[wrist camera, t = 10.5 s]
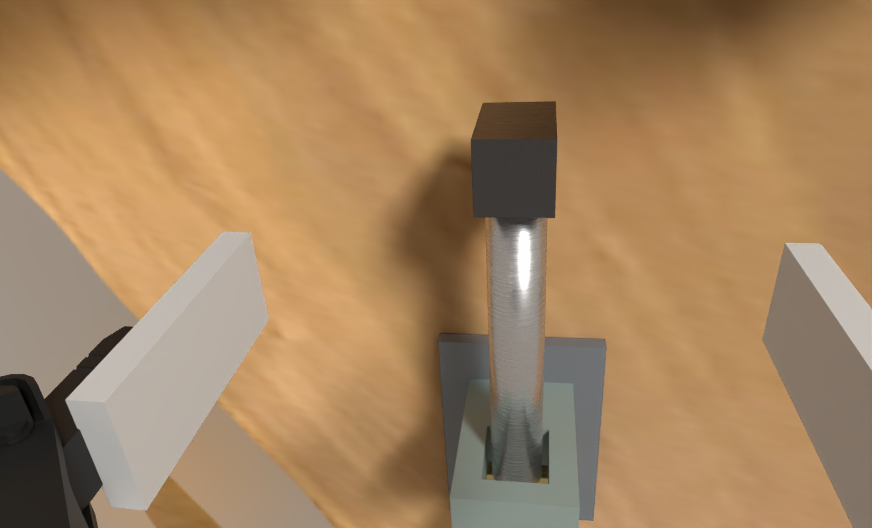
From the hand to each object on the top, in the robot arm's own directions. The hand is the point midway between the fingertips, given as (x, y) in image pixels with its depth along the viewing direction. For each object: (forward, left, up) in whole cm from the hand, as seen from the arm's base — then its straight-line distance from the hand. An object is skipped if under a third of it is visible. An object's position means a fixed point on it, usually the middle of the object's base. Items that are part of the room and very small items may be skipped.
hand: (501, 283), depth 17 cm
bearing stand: (+22, -13, -22) cm, 34 cm away
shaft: (+9, -6, -18) cm, 21 cm away
